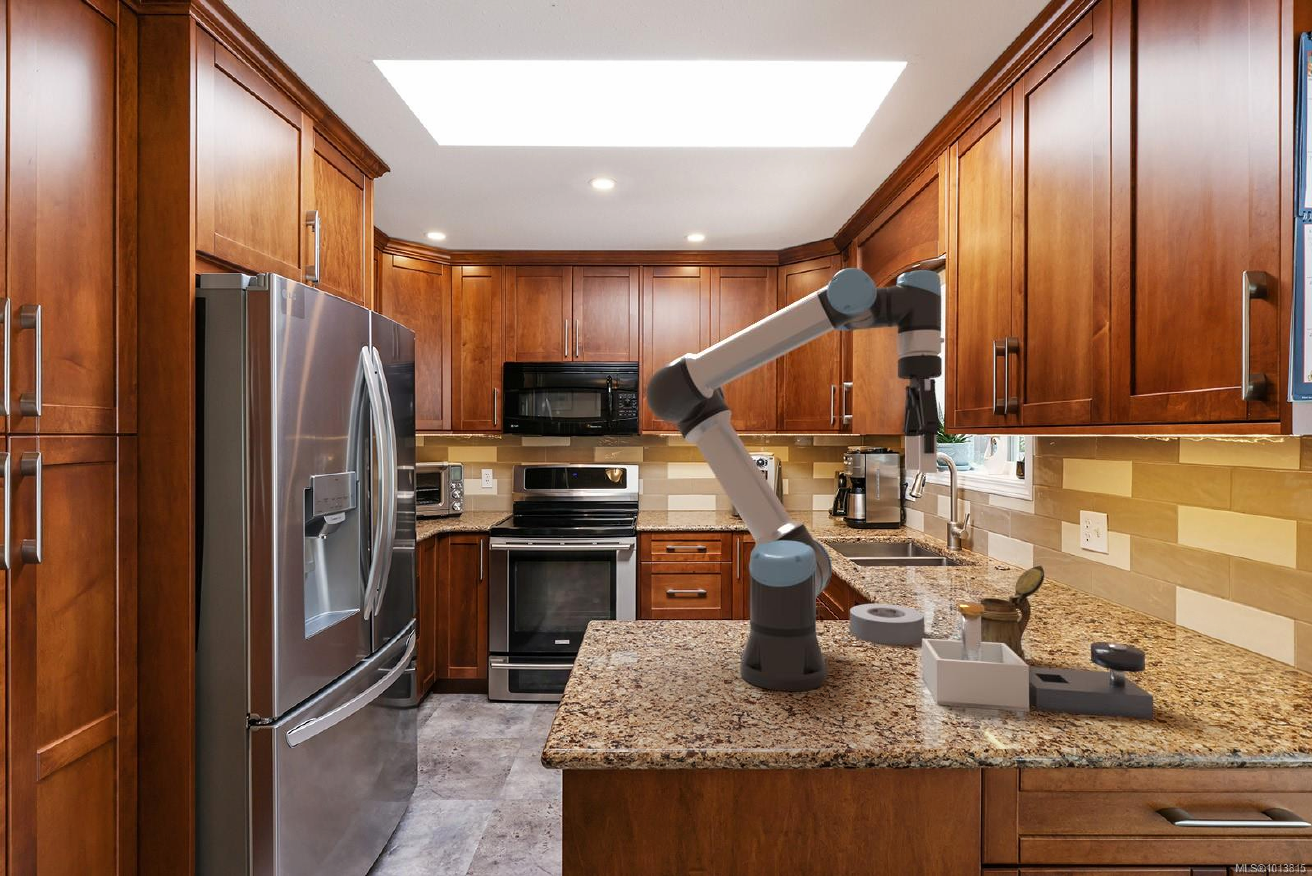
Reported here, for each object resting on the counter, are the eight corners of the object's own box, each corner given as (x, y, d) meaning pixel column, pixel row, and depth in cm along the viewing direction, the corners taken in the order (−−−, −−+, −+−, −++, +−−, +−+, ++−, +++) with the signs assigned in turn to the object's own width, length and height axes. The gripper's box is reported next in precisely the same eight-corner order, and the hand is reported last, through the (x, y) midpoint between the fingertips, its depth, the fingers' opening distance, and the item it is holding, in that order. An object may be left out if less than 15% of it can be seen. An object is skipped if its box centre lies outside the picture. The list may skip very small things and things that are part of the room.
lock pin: (961, 693, 103) (961, 607, 103) (955, 684, 107) (954, 601, 107) (988, 695, 102) (987, 608, 103) (981, 686, 106) (980, 602, 106)
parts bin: (937, 704, 100) (936, 660, 101) (922, 678, 112) (922, 638, 112) (1029, 711, 98) (1028, 665, 98) (1004, 684, 109) (1004, 643, 109)
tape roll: (875, 648, 129) (875, 624, 129) (836, 627, 143) (836, 605, 144) (940, 643, 132) (939, 619, 132) (896, 623, 147) (895, 601, 147)
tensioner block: (1036, 710, 98) (1036, 649, 98) (1014, 686, 108) (1013, 631, 108) (1161, 720, 95) (1160, 657, 95) (1126, 694, 104) (1125, 637, 104)
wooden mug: (1059, 666, 118) (1058, 570, 118) (989, 667, 117) (988, 571, 117) (1028, 650, 127) (1027, 561, 127) (963, 652, 126) (962, 562, 126)
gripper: (958, 345, 103) (959, 474, 103) (926, 364, 128) (927, 468, 128) (910, 347, 105) (911, 474, 105) (887, 365, 129) (888, 468, 129)
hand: (920, 471), depth 116 cm, fingers open, 13 cm apart
